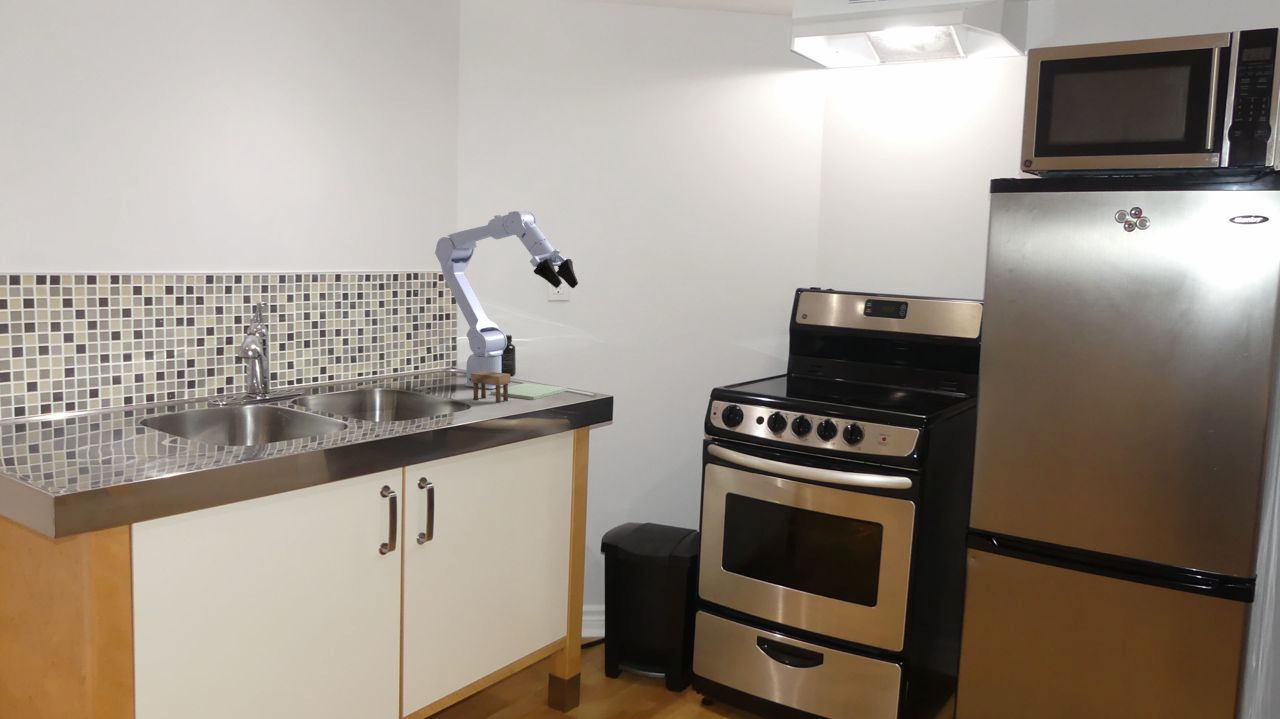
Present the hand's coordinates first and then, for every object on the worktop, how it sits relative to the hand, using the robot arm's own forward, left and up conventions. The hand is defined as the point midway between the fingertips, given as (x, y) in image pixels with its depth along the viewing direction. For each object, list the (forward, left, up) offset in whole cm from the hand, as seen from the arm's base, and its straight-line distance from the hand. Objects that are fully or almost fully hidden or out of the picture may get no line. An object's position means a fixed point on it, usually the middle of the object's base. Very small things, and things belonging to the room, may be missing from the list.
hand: (567, 285), depth 253 cm
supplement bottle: (-36, +20, -30) cm, 51 cm away
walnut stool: (-15, -14, -30) cm, 36 cm away
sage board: (-13, +1, -30) cm, 32 cm away
